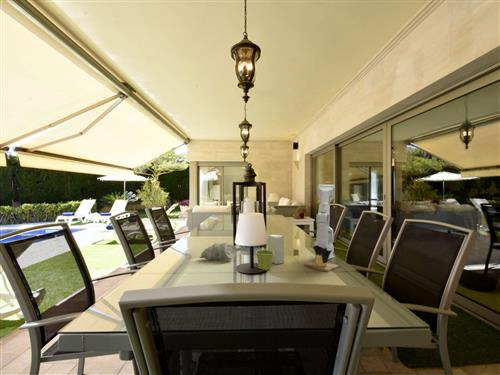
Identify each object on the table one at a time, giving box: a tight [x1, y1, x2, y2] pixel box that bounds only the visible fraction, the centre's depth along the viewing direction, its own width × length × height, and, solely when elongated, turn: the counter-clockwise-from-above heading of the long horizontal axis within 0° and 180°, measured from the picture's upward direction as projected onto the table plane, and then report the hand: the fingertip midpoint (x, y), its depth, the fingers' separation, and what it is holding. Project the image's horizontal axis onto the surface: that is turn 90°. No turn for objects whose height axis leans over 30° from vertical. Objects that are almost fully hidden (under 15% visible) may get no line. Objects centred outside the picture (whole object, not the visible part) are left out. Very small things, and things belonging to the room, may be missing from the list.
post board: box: [303, 259, 341, 273], centre depth 151 cm, size 13×14×4 cm
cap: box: [315, 254, 328, 266], centre depth 150 cm, size 6×6×5 cm
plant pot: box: [254, 249, 274, 271], centre depth 143 cm, size 9×9×9 cm
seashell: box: [199, 242, 237, 262], centre depth 157 cm, size 16×15×10 cm
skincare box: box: [266, 234, 285, 265], centre depth 157 cm, size 8×6×15 cm
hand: (321, 261), depth 151 cm, fingers closed on cap, 6 cm apart
